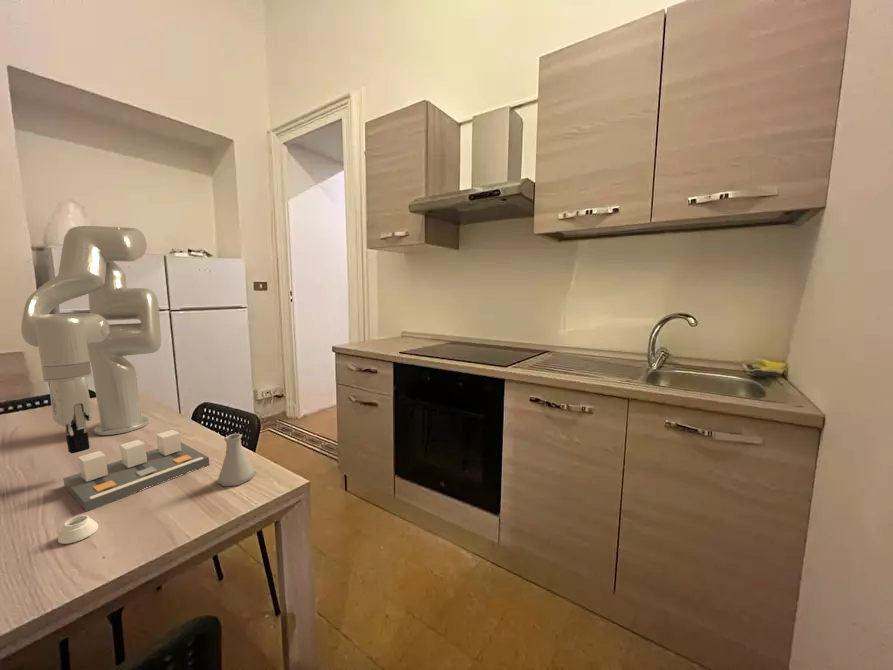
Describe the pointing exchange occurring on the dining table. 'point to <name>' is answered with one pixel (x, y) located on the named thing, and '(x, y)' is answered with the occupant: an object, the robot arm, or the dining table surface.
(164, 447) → the cream cube
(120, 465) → the switch panel
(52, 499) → the dining table surface
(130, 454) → the tab
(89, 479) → the tab
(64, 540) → the upside-down white bowl
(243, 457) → the flask
